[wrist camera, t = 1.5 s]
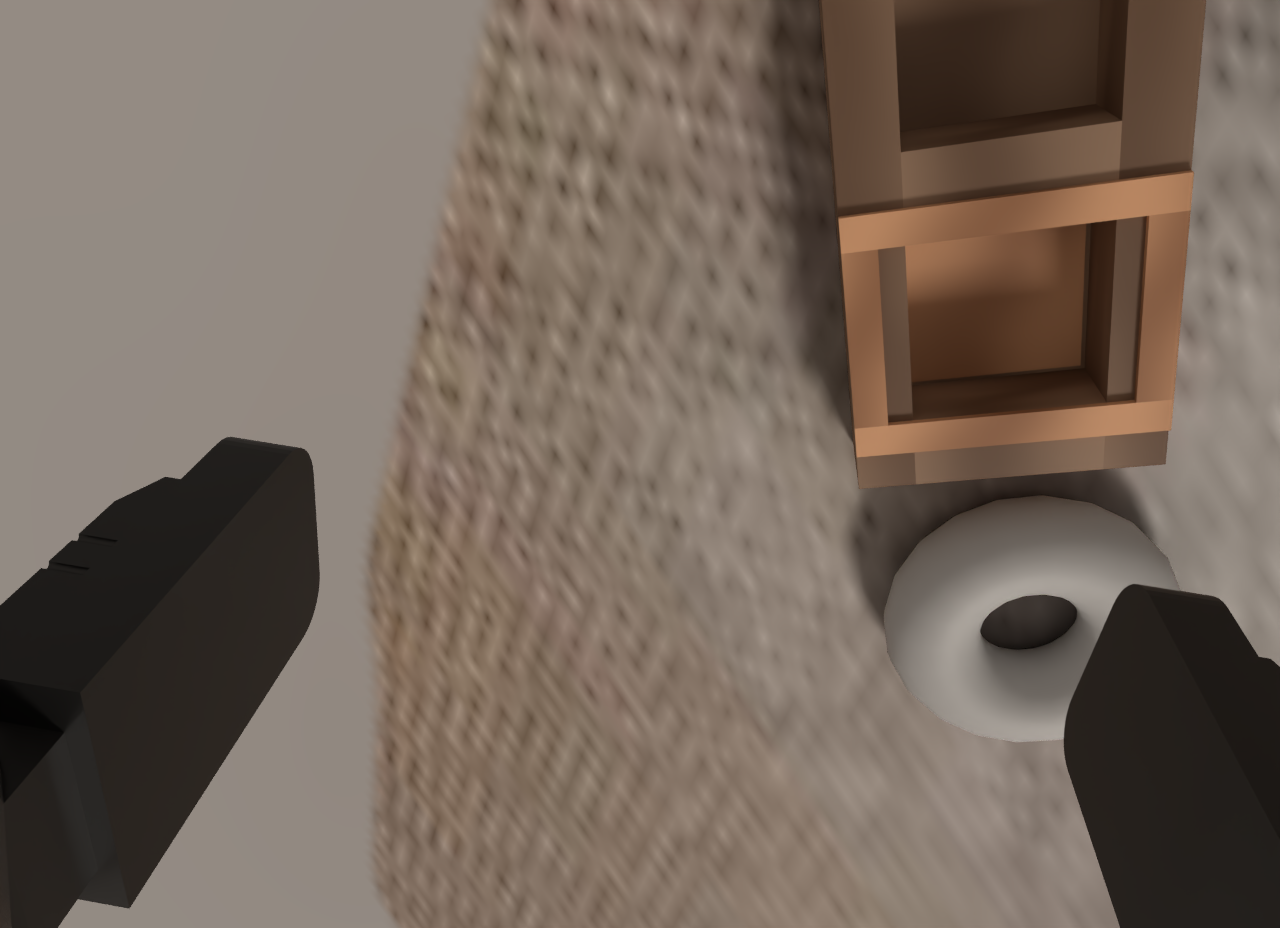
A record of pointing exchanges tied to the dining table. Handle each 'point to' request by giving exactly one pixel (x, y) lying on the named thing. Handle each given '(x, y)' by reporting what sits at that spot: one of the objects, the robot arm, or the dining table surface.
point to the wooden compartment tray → (1010, 229)
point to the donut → (997, 573)
